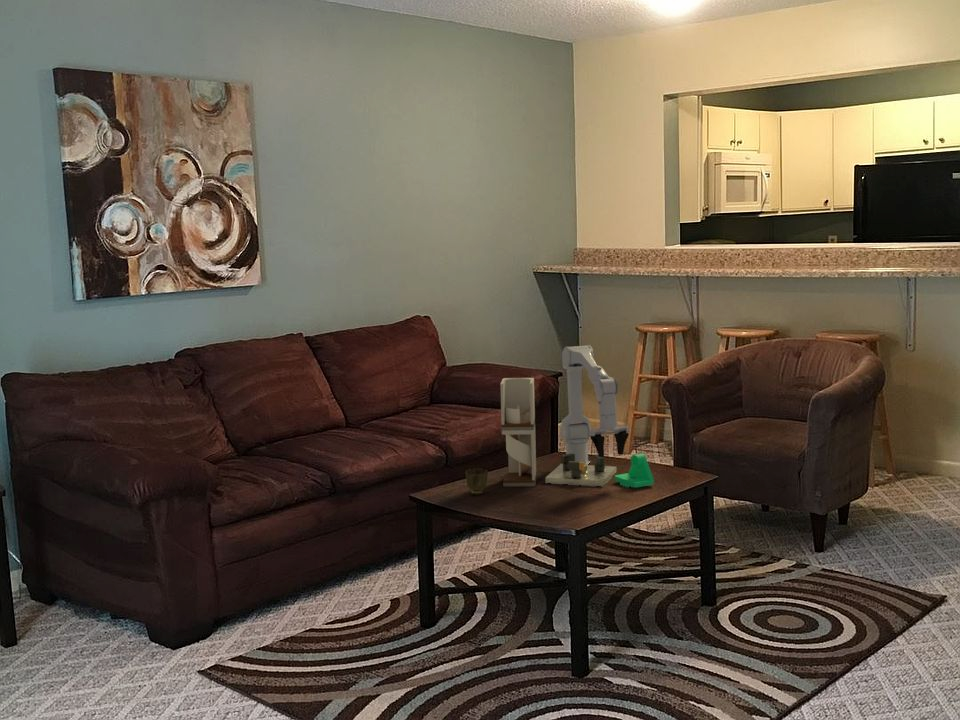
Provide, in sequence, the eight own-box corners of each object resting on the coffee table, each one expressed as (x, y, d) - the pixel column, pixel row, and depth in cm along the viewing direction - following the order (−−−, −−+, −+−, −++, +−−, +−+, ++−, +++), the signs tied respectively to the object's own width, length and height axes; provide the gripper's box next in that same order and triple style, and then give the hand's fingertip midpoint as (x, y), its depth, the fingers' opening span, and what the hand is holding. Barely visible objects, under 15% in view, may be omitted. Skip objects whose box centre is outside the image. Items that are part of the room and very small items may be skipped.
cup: (493, 493, 348) (492, 469, 347) (477, 498, 343) (476, 474, 342) (477, 489, 354) (476, 466, 353) (461, 494, 349) (460, 470, 348)
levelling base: (561, 469, 378) (560, 450, 377) (616, 472, 371) (616, 452, 370) (545, 483, 359) (544, 463, 358) (603, 486, 352) (603, 466, 351)
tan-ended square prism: (567, 477, 358) (567, 462, 357) (570, 474, 361) (570, 460, 361) (582, 478, 356) (582, 463, 355) (585, 475, 360) (585, 461, 359)
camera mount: (613, 483, 358) (613, 453, 356) (632, 479, 361) (631, 450, 360) (635, 491, 347) (634, 460, 346) (653, 487, 351) (653, 457, 349)
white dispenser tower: (505, 477, 368) (502, 378, 363) (536, 477, 367) (533, 377, 362) (503, 486, 357) (500, 383, 352) (534, 486, 356) (532, 383, 351)
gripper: (596, 417, 345) (599, 458, 345) (633, 413, 351) (636, 454, 351) (584, 416, 351) (587, 457, 351) (620, 412, 358) (623, 452, 358)
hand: (610, 455), depth 352 cm, fingers open, 7 cm apart
